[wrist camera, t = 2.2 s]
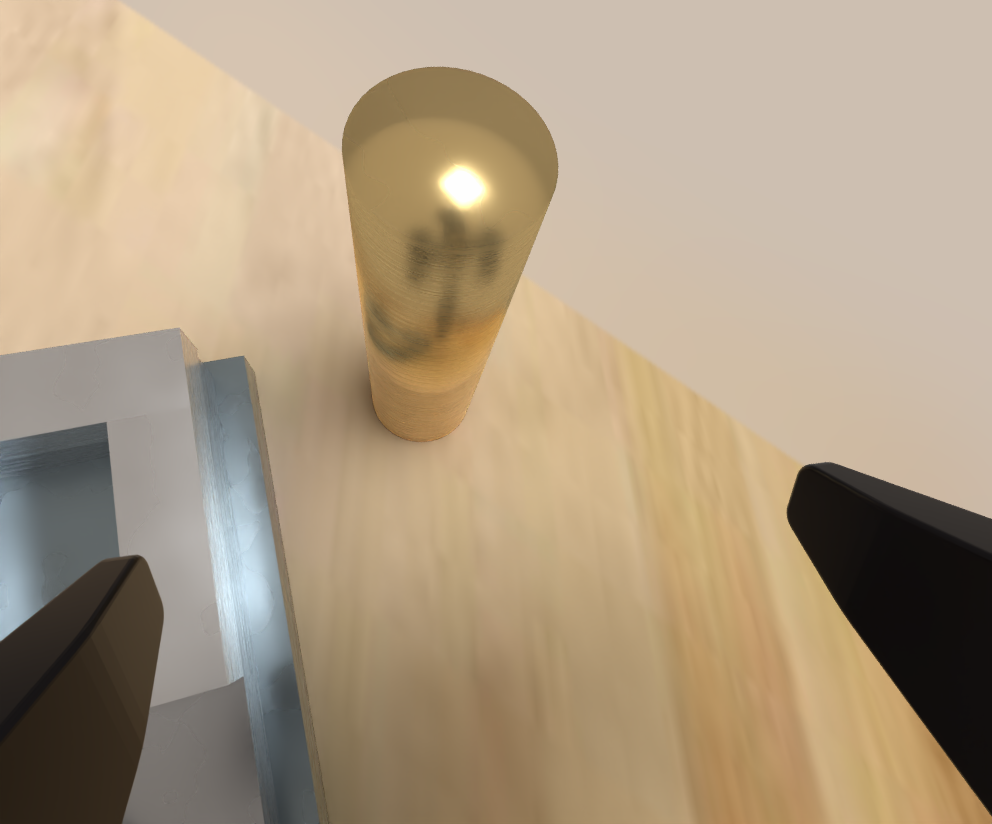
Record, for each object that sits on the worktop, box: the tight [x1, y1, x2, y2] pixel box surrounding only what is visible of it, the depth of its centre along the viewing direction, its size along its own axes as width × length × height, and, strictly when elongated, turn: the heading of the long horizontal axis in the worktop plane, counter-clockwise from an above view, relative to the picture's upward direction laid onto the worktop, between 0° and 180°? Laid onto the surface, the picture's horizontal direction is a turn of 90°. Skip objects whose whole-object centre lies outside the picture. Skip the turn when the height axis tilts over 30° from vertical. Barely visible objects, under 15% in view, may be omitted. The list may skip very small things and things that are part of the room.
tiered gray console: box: [0, 328, 329, 824], centre depth 15 cm, size 22×11×4 cm, turn 14°
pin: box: [342, 67, 558, 442], centre depth 15 cm, size 4×4×12 cm
